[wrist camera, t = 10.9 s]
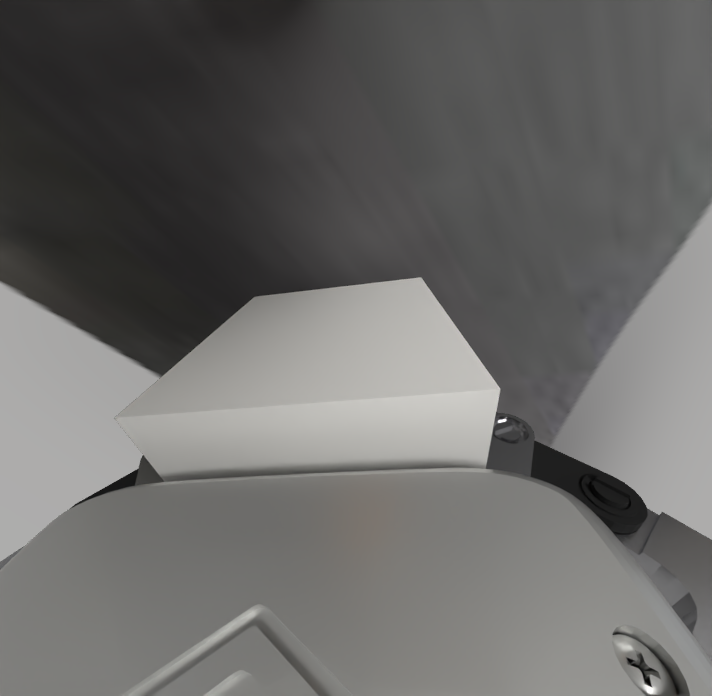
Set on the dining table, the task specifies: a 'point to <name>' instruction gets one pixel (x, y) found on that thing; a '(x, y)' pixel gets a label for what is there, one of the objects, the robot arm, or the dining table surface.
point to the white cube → (321, 390)
